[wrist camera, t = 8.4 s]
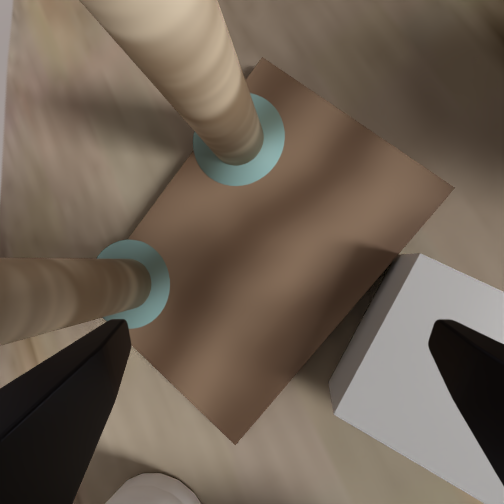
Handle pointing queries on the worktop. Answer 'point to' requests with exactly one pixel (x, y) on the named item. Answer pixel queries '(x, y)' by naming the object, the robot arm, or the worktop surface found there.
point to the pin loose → (189, 67)
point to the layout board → (269, 249)
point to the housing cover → (418, 371)
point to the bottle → (153, 491)
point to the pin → (65, 292)
